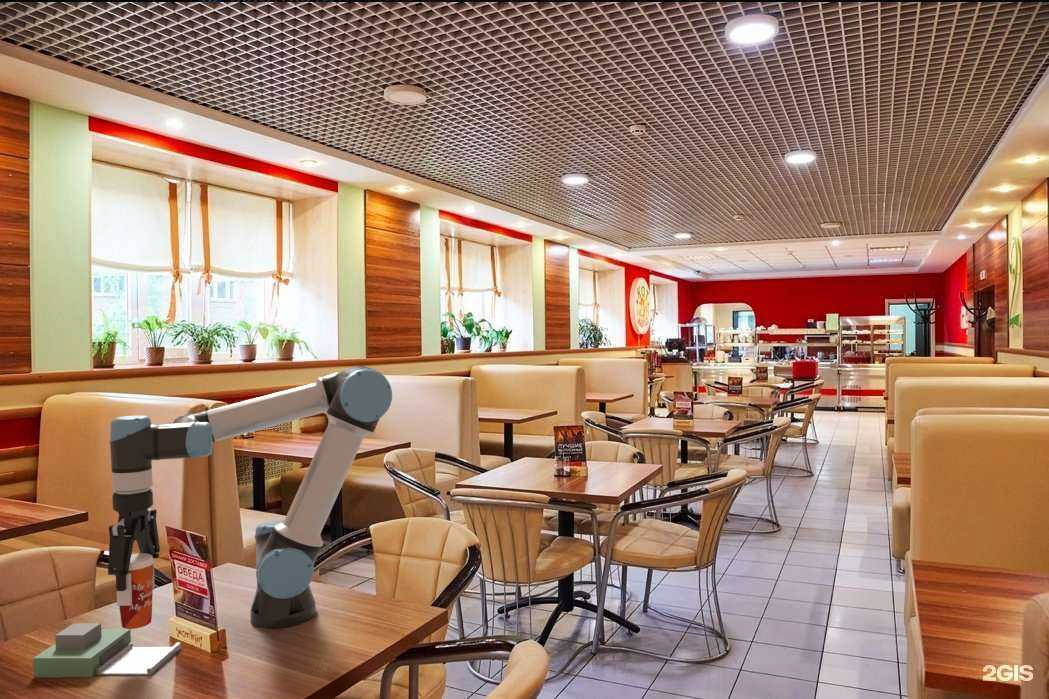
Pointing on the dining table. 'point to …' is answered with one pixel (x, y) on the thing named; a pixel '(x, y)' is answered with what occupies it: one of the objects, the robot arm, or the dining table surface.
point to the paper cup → (139, 592)
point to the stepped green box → (80, 650)
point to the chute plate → (136, 660)
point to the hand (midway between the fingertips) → (136, 596)
